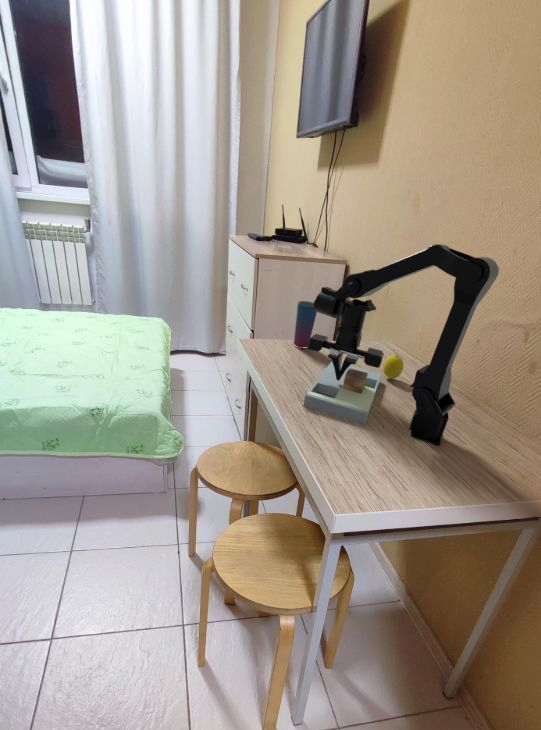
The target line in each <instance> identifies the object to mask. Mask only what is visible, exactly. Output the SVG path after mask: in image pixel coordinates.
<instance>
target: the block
mask: <svg viewBox="0 0 541 730" xmlns="http://www.w3.org/2000/svg"><path fill="white" fill-rule="evenodd" d="M367 375H368V373H366V372H362V371H358V370H355V369H351V368H349V369H348V371H347V373H346V375H345V379H344V383H343V387H342V389H345V390H349V391H352V392H356V393H359V394H362V391H363V389H364V387H365V383H366V379H367Z"/></svg>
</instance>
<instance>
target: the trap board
mask: <svg viewBox="0 0 541 730" xmlns="http://www.w3.org/2000/svg"><path fill="white" fill-rule="evenodd" d="M342 365H343V362H342V363H341V367H342ZM349 368H351V369H355V370H358V371H362V372H366V373H368V375H367V379H366V383H365V387H364V389H363V391H362V394H359V393H356V392H352V391H349V390H345V389H342V387H343V383H344V379H345V375H346V373H347V371H348V369H349ZM381 378H382V373H379V372H376V371H371V370H368V369H364V368H361V367H357V366H352V365H350V366H349V367H348V368H347V369H346V371H345V372H344V374H343V375H342V377H341V379H340V380H337V379H336V374H335V369H334V365H333V363H332V360H331V361H330V363H329V364H328V365H327V367H326V368H325V369H324V370H323V372H322V374H320V376H319V378H318V379H317V380H316V382H315V383H314V384H313V386H312V387H311V388H310V390H309V391H308V392H307V393H305V395H304V401H303V406H304V407H307V408H309V409H313V410H316V411H319V412H322V413H325V414H328V415H332V416H336V417H338V418H342V419H345V420H347V421H351V422H355V423H358V424H360V425H365V424H366V421H367V418H368V417H369V413H370V410H371V407H372V404H373V402H374V398H375V396H376V393H377V391H378V387H379V385H380V382H381ZM317 392H318V393H317ZM321 393H322V394H321ZM324 394H325V395H324ZM327 395H328V396H327ZM331 396H332V397H331Z"/></svg>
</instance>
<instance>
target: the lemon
mask: <svg viewBox="0 0 541 730" xmlns="http://www.w3.org/2000/svg"><path fill="white" fill-rule="evenodd" d="M382 369H383V374H384V375H385V376H386V377H387V378H388V380H392V379H396V378H398V377H399V376H401V374H402V373H403V371H404V361H403V358H402V357H400V356H399V355H398V354H393V355H389V356H388V357H387V358H386V359H385V361H384V363H383V367H382Z"/></svg>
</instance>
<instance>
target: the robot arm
mask: <svg viewBox="0 0 541 730" xmlns="http://www.w3.org/2000/svg"><path fill="white" fill-rule="evenodd" d="M433 267H436V268H438V270H439V269H440V270H441V271H443V272H444V273H446V274H447V275H449V276H450V277H453V278H455V280H454V285H453V302H452V305H451V308H450V310H449V314H448V315H447V318H446V320H445V323H444V326H443V329H442V332H441V334H440V336H439V339H438V342H437V344H436V347H435V349H434V352H433V354H432V355H433V356H432V357H431V360H430V363H429V364H426V365H424V366H423V367H421V368H419V369H417V370H416V372H415V375H414V376H415V377H414V380H413V383H412V384H411V385H410V388H412V389H411V396H412V398H413V399H414V401H415V410H413V411H414V412H413V414H412V417H411V420H410V424H409V431H410V437H411V438H414V439H417V440H421V441H423V442H424V441H425V442H427V443H430V444H434V445H436V446H441V445H442V438H443V434H444V431H445V429H446V427H447V424H448V421H449V412H450V411H451V410H452V409H453V408H454V407H455V406H456V401H455V400H454V399H453V397H452V394H451V393H450V386H451V382H452V381H451V380H452V368H453V364H454V363H455V360H456V358H457V355H458V352H459V350H460V348H461V345H462V343H463V340H464V337H465V335H466V333H467V330H468V327H469V326H470V323H471V321H472V318H473V316H474V314H475V311H476V309H477V307H478V305H479V304H480V303H481V301H482V300H483V299H484V297H486V294H488V293H489V291H490V289H491V287H492V286H493V284H494V282H495V281H496V279H497V277H498V275H499V272H500V269H499V265H498V264H497V262H496V261H495V260H494V259H493V258H491V257H488V256H487V257H486V256H480V257H479V256H478V257H475V256H473V255H470V254H468V253H464V252H462V251H459V250H456V249H453V248H452V247H450V246H448V245H446V244H443V243H442V244H437V243H436V244H432V245H430V246H429V247H426V248H425V249H423V250H420V251H418V252H416V253H413V254H411V255H407V256H406V257H403V258H401V259H399V260H396V261H393V262H391V263H389V264H386V265H383V266H381V267H380V268H376V269H370V270H364V271H359V272H355V273H354V272H353V273H351V274H348V275H347V276H346V278H345V280H344V283H343V285H341V286H340V287H339V288H338V289H337V290H336V289H333V288H331V287H328V286H323V287H321V290H320V292H319V293H318V294H317V296H316V298H315V300H314V301H313V302H314V310H315V311H316V312H317V313H319V314H322V315H325V316H327V317H330V318H332V319H337V318H339V317H340V320H339V323H337V326H336V329H335V331H334V336H336V337H335V341H334V342H332V341H329V336H326V335H322V334H317V333H315V334H313V335H311V338H310V339H309V341H308V345H307V350H310V351H314V352H318V353H319V352H320V351H321V350H322V349H327V350H329V353H328V354H327V358H329V359H330V360H331V361H332V363H333V365H334V369H335V374H336V379H337V380H340V379H341V377H342V375H343V374H344V372H345V371H346V369H347V368H348V367H349V366H352V365H356V363H357V362H358V360H359V359H360V358H361V359H363V362H364V364H365V365H366V366H369V367H373V368H376V369H379V368H381V367H380V366H381V364H382V362H383V359H384V354H385V353H384V352H383V350H380V349H377V348H372V347H368V349H367V351H366V350H362V349H359V347H360V345H361V341H362V335H363V333H362V331H363V327H364V323H365V319H366V315H367V313H369V312H372V311H376V310H377V307H376V306H375V304H374V303H373V301H372V299H367V300H365V301H364V300H362V299H359V298H364V297H365V298H366V297H370V296H372V295H374V294H375V293H377V292H378V291H380V290H381V289H383V288H384V287H385V286H387V285H389V284H390V283H391V284H392V283H394V282H396V281H399V280H401V279H403V278H406V277H409V276H411V275H415V274H417V273H420V272H423V271H426V270H428V269H430V268H433ZM349 298H351V299H352V300H350V299H349ZM344 354H346V356H345V358H344V357H343V356H344ZM343 358H344V359H343ZM342 361H343V362H342ZM341 363H342V364H343V365H342V367H341Z"/></svg>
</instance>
